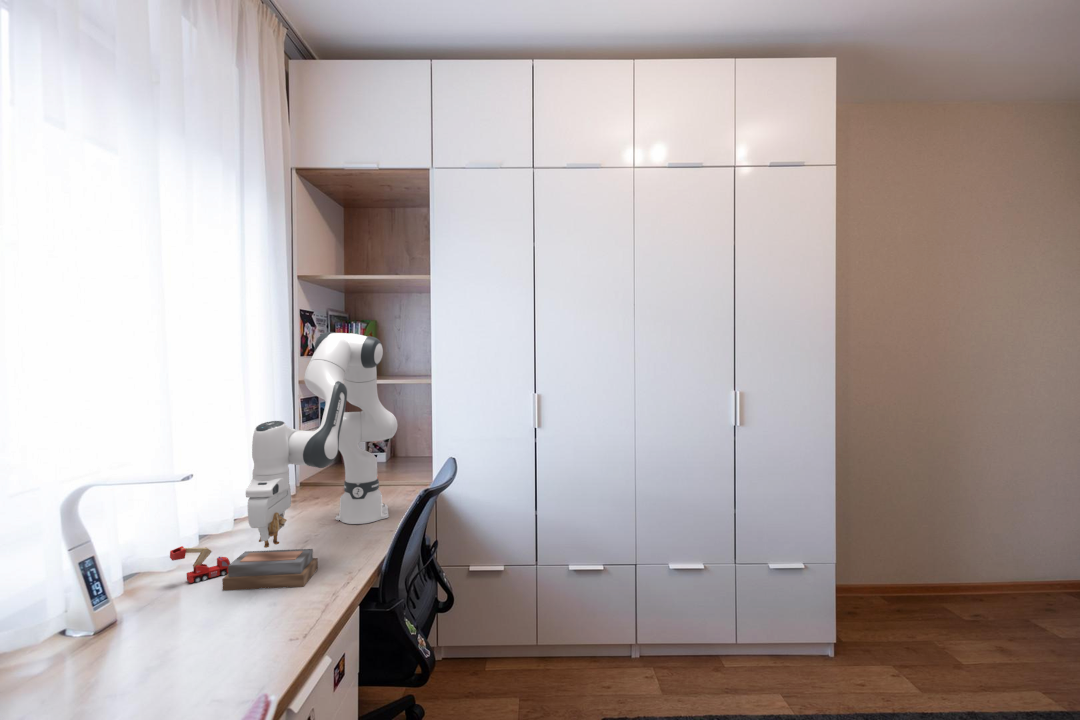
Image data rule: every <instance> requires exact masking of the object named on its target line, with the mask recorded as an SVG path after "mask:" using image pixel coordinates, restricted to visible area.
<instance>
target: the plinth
mask: <svg viewBox="0 0 1080 720" xmlns="http://www.w3.org/2000/svg"><path fill="white" fill-rule="evenodd" d="M313 551H314V549H313V548H299V549H297V548H296V549H276V550H275V549H273V550H270V549H269V550H250V551H249V550H248V551H247V550H246V551H244V552H243V553H241V554H240V555H239V556H237V557H236V558H235V559H234V560H232V561H231V562H230V564H229V565H228V573H227V574H226V575H224V577H223V578H222V581H221V582H222V591H240V590H244V591H245V590H260V589H259V588H265V589H281V588H283V587H286V588H302V587H304V588H305V586H306V585H307V583H308V582H309V580H310V579H311V578H312V576H313V575H314V574H315V573H316V571H317V570H318V569H319V565H318V563H319V562H318V559H319V558H318V557H314V552H313ZM283 589H284V588H283Z"/></svg>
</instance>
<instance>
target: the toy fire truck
mask: <svg viewBox="0 0 1080 720" xmlns="http://www.w3.org/2000/svg"><path fill="white" fill-rule="evenodd" d="M212 552H213V551H212V550H211V549H210V548H208V547H185V546H183V545H182V546H179V547H176V548H174V549H171V550H170V551H169V558H170V560H171V561H179V560H184V559H185V558H186V554H187V553H188V554H189V553H192V554H193V553H195V554H197V553H198V556H197V558H196V560H195V562H194V563H193V564H192V566H193V570H192V571H189V572H186V581H187V582H188V583H189V584H191V583H197V584H198V583H200V582H201V580H202V581H207V580H208V579H211V578H215V577H218V576H220V575H221V576H222V577H223V575H224V576H226V575H227V574H228V565H229V564H231V562H230V559H229V557H226V556H218V557H217V558H216V565H213V566H208V565H207V563H204V562H205V561H206V559H207V558H208V557H209V556H210V554H211V553H212Z"/></svg>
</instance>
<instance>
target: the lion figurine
mask: <svg viewBox="0 0 1080 720" xmlns="http://www.w3.org/2000/svg"><path fill="white" fill-rule="evenodd" d="M286 522H287V519H286V518H285V517H284V518H282V517H281V516H279V513H277V512H276V513H275V514H274V516H273V520H272V522H270V523H269V527H268V532H270V538H271V537H273V538H272V539H273V540H272V543H273V544H274V546H275V545H279V544H280V541H278V532H279V531H280V530H281V529H280V526H282V528H284V527H285V524H286ZM261 542H264V545H263V548H269V547H270V543H269V539H268V540H267V541H261V536H259V539H258V543H261Z"/></svg>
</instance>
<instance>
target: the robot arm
mask: <svg viewBox="0 0 1080 720" xmlns="http://www.w3.org/2000/svg"><path fill="white" fill-rule="evenodd" d="M383 354H384V346H383V343H382V341H381V340H380V339H378V338H377V337H375V336H371V335H370V336H368V335H367V336H366V335H363V334H359V333H353V332H350V333H345V332H334V331H326V332H322V333H321V334H320V335H318V336H317V338H316V340H315V343H314V353H313V354H312V357H311V359H310V360H309V363H308V364H307V367H306V369H305V371H304V377H303V382H304V384H305V387H306V388H307V389H308V390H309V392H311V393H312V394H313V395H315V396H316V397H318V398H319V399H322V400H324V401H325V404H324V405H325V406H324V410H323V415H322V419H321V423H320V426H319V427H318V428H317V429H316V430H301V429H295V428H292V427H290V426H288V425H287V424H286V423H285V422H284V421H283V420H271V421H265V422H262V423H260V424H258V425H256V426H255V428H254V431H253V436H252V442H251V443H252V444H251V458H252V461H253V470H252V479H251V481H250V484H249V485H248V486H247V488H246V489H245V497H246V499H247V498H248V499H247V518H248V524H249V525H248V526H250V528H251V529H257V530H258V532H259V535H260V536H261V541H262V542H264V541H267V540H268V541H269V539H270V538H271V537H270V532H268V527H269V523H270V522H272V520H273V516H274V514H275V513H276V512H277V513H279V516H281V517H282V518H284V519H285V511H287V510H288V509H290V507H291V505H292V491H291V484H290V467H289V465H295V466H308V467H313V468H319V469H324V468H326V467H328V466H329V465H330V464H331V463H333V462H334V460H336V458H337V457H338V456H337V455H338V454H339V452H340V454H341V456H342V459H343V464H344V474H345V477H344V478H345V480H344V482H343V483H344V484H343V490H344V493H343V494H342V495H341V496H339V497H340V498H339V514H337V515H336V516H335V518H334V520H335V519H336V520H335V521H339V520H340V522H342V523H343V524H348V525H349V524H350V525H361V524H363V525H364V524H369V523H374V522H377V521H379V520H384V519H389V518H390V517H389V506H388V504H385V503H383V495H382V492H381V490H380V481H379V476H378V459H377V457H376V456H375V454H373V453H371V452H369V451H367V450H365V449H363V448H361V447H360V445H359V444H360V443H365V442H366V443H367V442H382V441H386V440H388V439H389V440H390V439H393V437H394V436H395V435H396V433H397V430H398V420H397V418H396V416H395V415H394V414H393V412H391V411H389V410H388V409H386V408H385V406H384V405H383V404H382V402H381V401H380V399H379V395H378V386H377V385H378V379H377V376H378V375H377V366H378V365H379V364H380V363H381V362H382V359H383V356H384V355H383ZM347 402H348V403H349V404H351V405H352V406H355V407H358V408H359V409H361V411H349V412H348V411H346V410H345V409H346V405H347ZM282 528H283V527H282V526H280V530H281V529H282ZM260 536H259V537H260Z"/></svg>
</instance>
